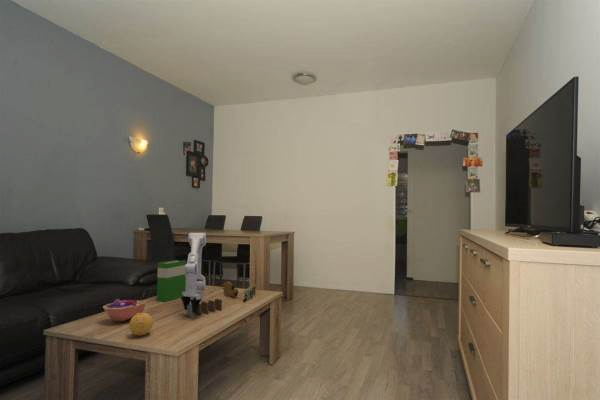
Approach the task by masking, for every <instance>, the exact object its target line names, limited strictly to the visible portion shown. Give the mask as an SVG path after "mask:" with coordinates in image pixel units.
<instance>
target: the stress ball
mask: <svg viewBox="0 0 600 400" xmlns="http://www.w3.org/2000/svg"><path fill="white" fill-rule="evenodd" d="M153 326H154V319H153V317H152V316H151V315H150V314H149V313H147V312H144V311H143V312H141V313H137V314H136V315H135V316H133V317H132V318H131V319H129V322H128V327H129V330H130V332H131V333H132V334H133V335H134V336H140V337H141V336H145V335H147V334H148V333H149V332H150V331H151V330H152V328H153Z"/></svg>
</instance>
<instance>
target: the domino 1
mask: <svg viewBox="0 0 600 400" xmlns="http://www.w3.org/2000/svg"><path fill="white" fill-rule="evenodd" d="M186 317H189V318H195V314H194V313H193V312H192V305H190V304H188V305H187V310H186Z"/></svg>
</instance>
